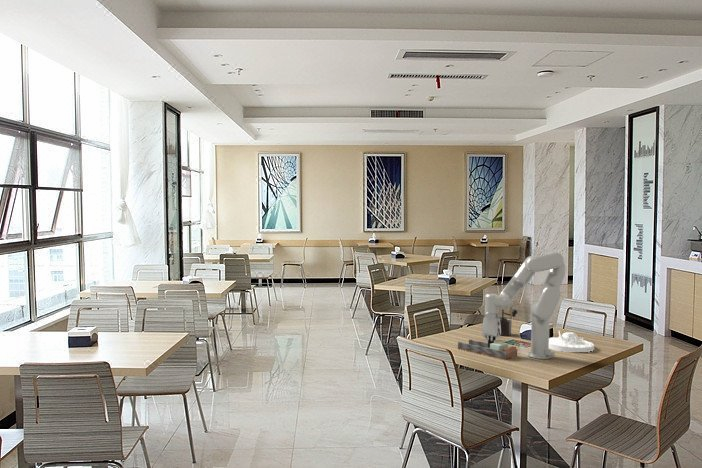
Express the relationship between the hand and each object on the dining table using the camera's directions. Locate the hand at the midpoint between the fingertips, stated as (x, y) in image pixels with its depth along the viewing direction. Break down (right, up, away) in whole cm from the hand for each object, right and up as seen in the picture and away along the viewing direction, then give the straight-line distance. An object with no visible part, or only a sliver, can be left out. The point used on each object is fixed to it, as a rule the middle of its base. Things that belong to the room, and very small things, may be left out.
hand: (490, 347), depth 318 cm
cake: (+52, -4, +19) cm, 55 cm away
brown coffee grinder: (+23, -2, +52) cm, 57 cm away
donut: (+8, -3, +36) cm, 37 cm away
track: (-2, -3, +2) cm, 4 cm away
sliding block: (+3, -2, -4) cm, 6 cm away
